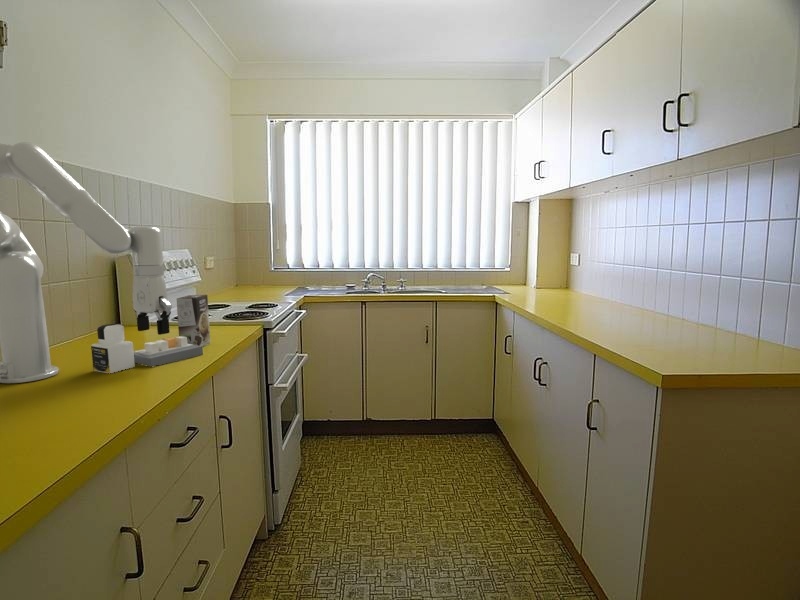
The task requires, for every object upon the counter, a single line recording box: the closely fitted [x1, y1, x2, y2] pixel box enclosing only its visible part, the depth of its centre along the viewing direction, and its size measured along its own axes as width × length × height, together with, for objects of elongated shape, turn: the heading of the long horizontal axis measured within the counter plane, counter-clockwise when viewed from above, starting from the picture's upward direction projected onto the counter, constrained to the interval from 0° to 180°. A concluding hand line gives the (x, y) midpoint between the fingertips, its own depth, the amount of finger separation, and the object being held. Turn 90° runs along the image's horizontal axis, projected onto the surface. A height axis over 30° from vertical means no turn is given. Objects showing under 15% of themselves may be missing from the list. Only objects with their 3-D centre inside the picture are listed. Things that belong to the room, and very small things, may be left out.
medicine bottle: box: [90, 323, 136, 375], centre depth 130 cm, size 7×7×12 cm
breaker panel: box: [133, 335, 204, 368], centre depth 142 cm, size 16×12×5 cm
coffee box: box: [176, 294, 211, 348], centre depth 156 cm, size 9×6×16 cm
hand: (153, 332), depth 139 cm, fingers open, 9 cm apart
